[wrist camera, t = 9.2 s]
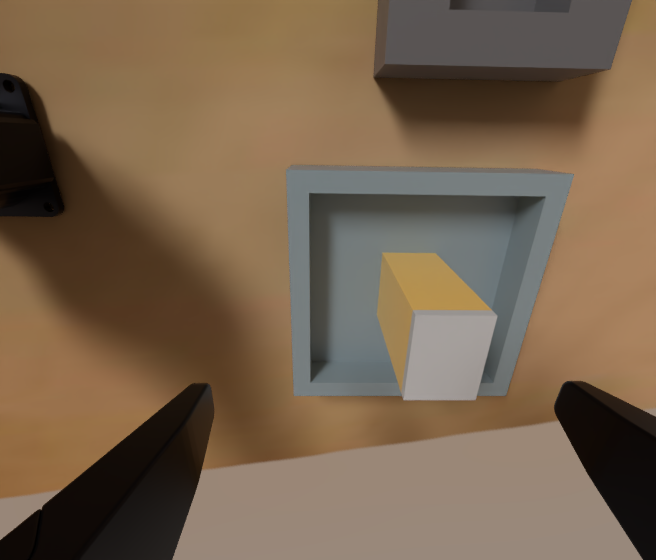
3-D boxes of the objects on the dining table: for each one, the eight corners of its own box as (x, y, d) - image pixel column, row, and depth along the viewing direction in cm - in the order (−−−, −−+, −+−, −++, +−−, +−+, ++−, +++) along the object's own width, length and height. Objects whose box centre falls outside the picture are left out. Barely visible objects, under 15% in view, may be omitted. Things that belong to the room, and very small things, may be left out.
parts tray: (297, 365, 22) (293, 395, 20) (291, 164, 17) (286, 169, 14) (484, 366, 22) (505, 395, 20) (536, 168, 17) (574, 174, 15)
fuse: (376, 314, 20) (403, 400, 13) (382, 252, 18) (415, 315, 12) (425, 315, 20) (475, 400, 13) (435, 253, 18) (497, 315, 12)
